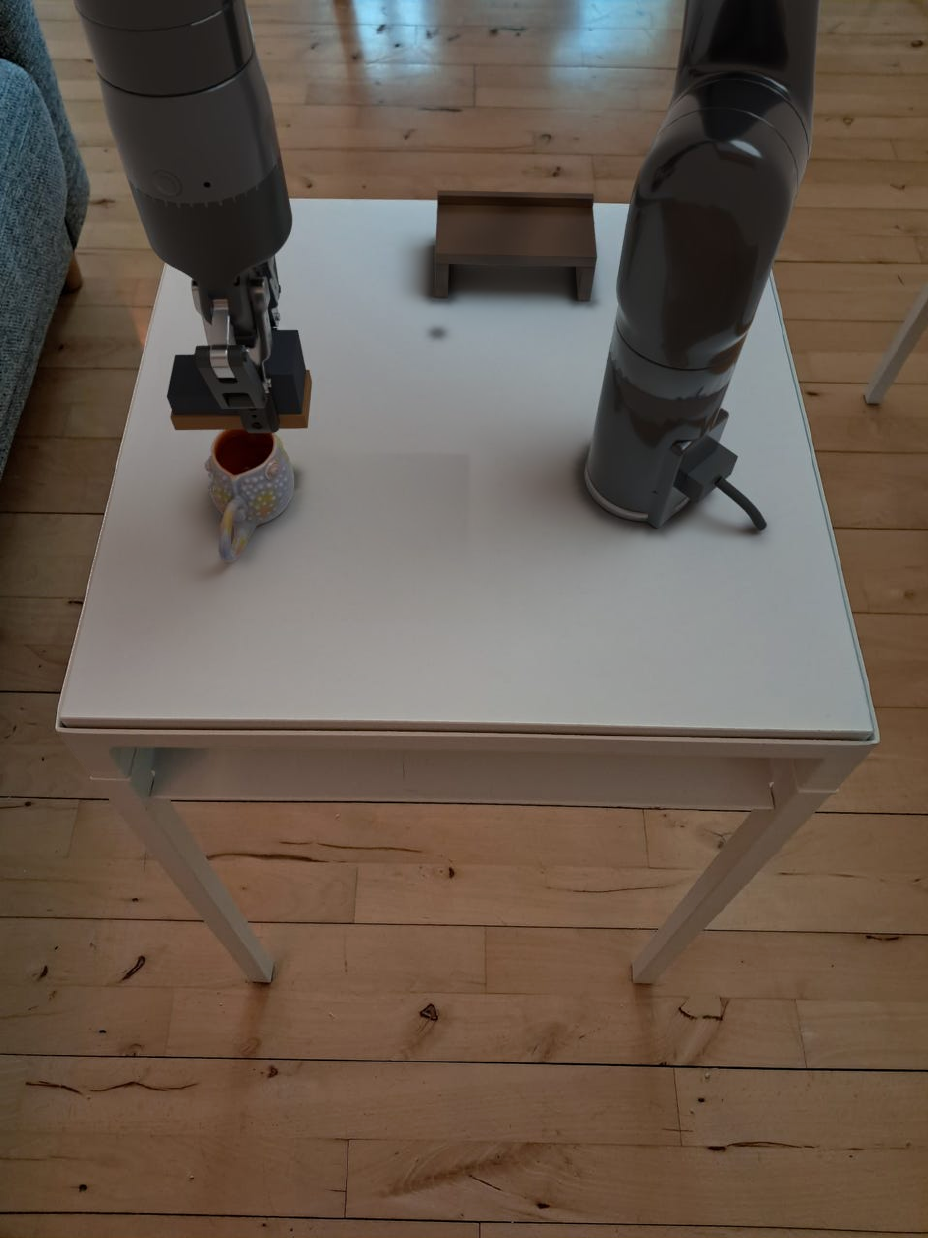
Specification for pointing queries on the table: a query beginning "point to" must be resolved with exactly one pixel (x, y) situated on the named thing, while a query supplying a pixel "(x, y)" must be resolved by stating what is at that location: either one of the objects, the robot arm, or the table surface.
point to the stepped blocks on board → (203, 411)
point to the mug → (247, 484)
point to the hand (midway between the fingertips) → (266, 400)
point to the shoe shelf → (515, 232)
